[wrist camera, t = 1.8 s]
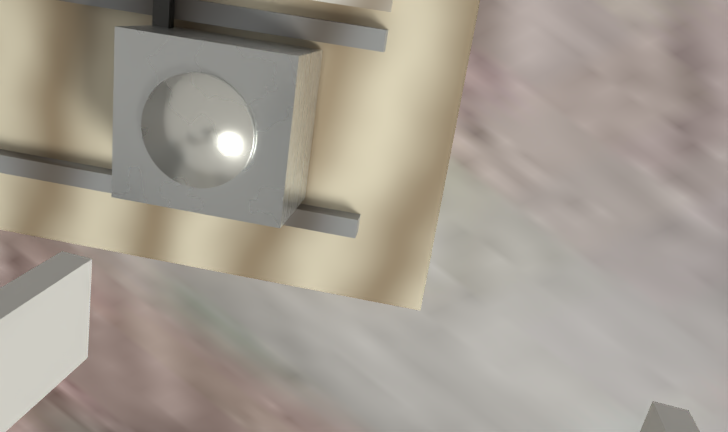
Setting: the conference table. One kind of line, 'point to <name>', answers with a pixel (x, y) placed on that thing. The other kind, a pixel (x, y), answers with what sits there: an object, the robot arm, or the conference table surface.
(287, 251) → the base
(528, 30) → the conference table surface
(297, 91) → the grey dimpled block
